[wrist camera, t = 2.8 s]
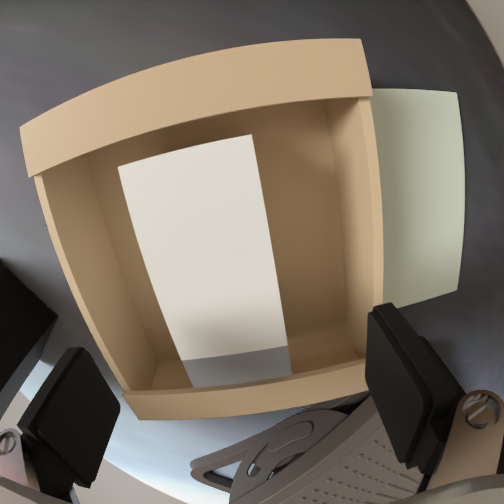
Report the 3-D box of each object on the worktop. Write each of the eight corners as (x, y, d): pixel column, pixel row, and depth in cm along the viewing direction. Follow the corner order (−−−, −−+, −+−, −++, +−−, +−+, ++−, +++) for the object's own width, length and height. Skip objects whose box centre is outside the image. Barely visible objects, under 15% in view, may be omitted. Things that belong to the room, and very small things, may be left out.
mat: (335, 91, 15) (338, 89, 14) (452, 93, 14) (456, 92, 14) (356, 314, 20) (358, 318, 20) (453, 287, 20) (456, 290, 20)
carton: (78, 125, 15) (19, 127, 9) (323, 67, 14) (360, 39, 9) (156, 362, 21) (139, 419, 16) (350, 331, 21) (377, 387, 15)
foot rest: (471, 437, 33) (497, 485, 21) (333, 511, 40) (342, 559, 28) (412, 321, 22) (492, 433, 10) (172, 457, 28) (160, 546, 16)
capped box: (159, 156, 15) (117, 166, 10) (247, 136, 15) (251, 134, 10) (204, 322, 19) (194, 388, 14) (279, 310, 19) (292, 374, 14)
